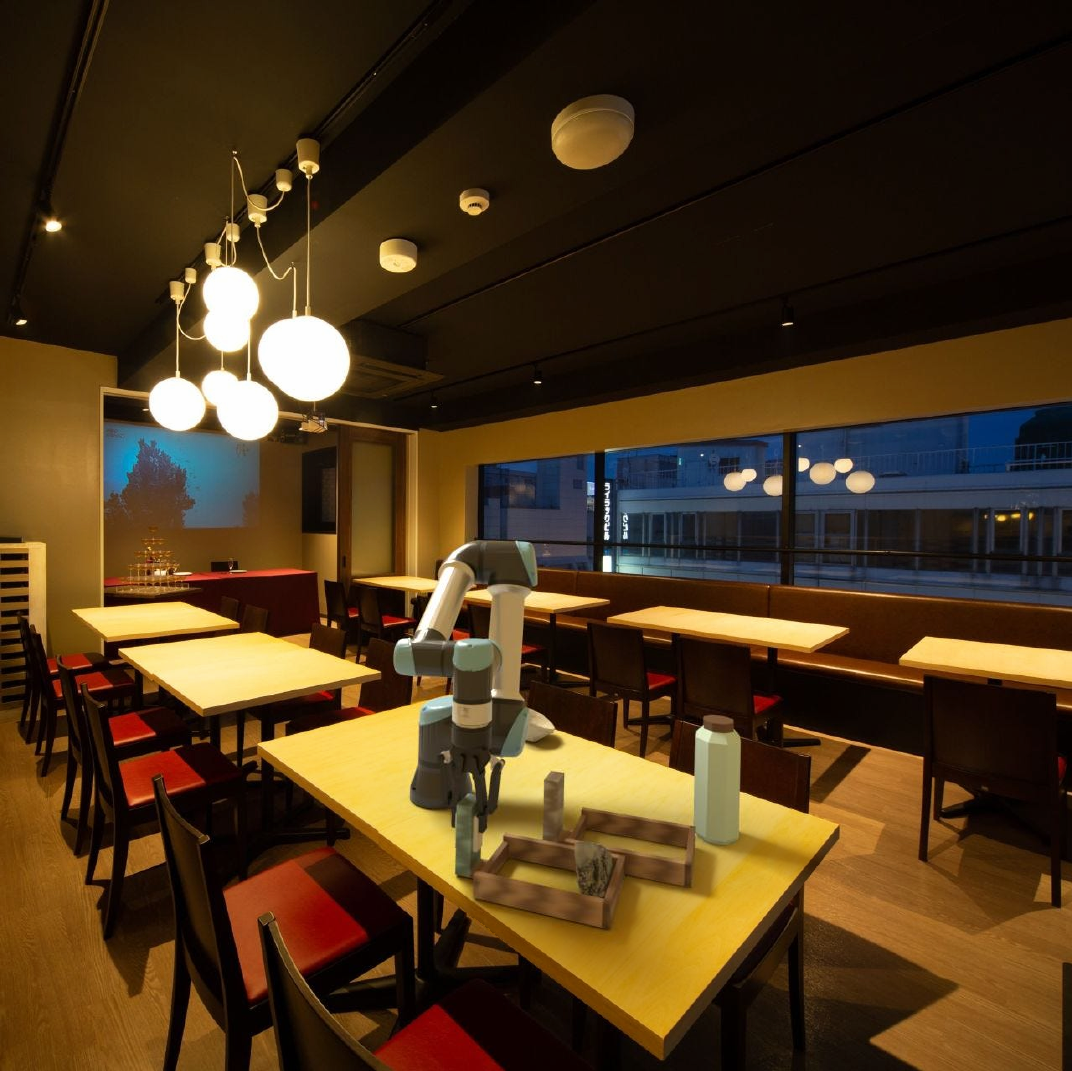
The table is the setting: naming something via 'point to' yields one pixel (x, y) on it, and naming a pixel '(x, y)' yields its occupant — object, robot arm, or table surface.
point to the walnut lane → (525, 892)
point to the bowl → (538, 726)
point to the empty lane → (625, 826)
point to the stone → (593, 868)
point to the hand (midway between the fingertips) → (468, 846)
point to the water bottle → (717, 781)
